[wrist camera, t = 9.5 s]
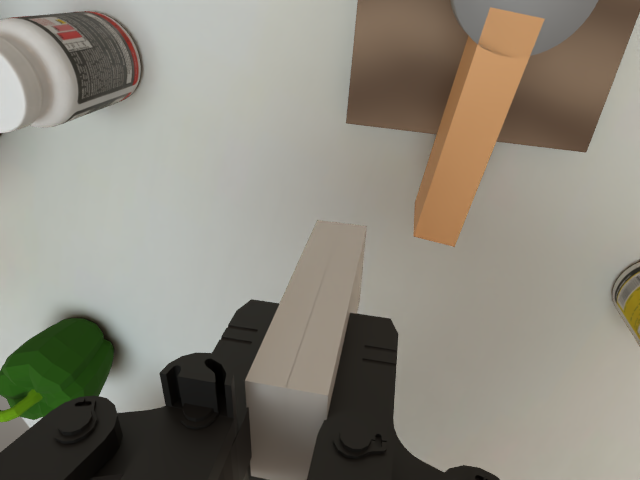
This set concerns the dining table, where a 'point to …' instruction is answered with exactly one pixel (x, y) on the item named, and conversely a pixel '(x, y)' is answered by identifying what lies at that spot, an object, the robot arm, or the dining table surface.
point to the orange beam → (484, 100)
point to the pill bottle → (63, 68)
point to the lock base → (444, 58)
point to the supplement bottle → (629, 299)
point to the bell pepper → (55, 369)
